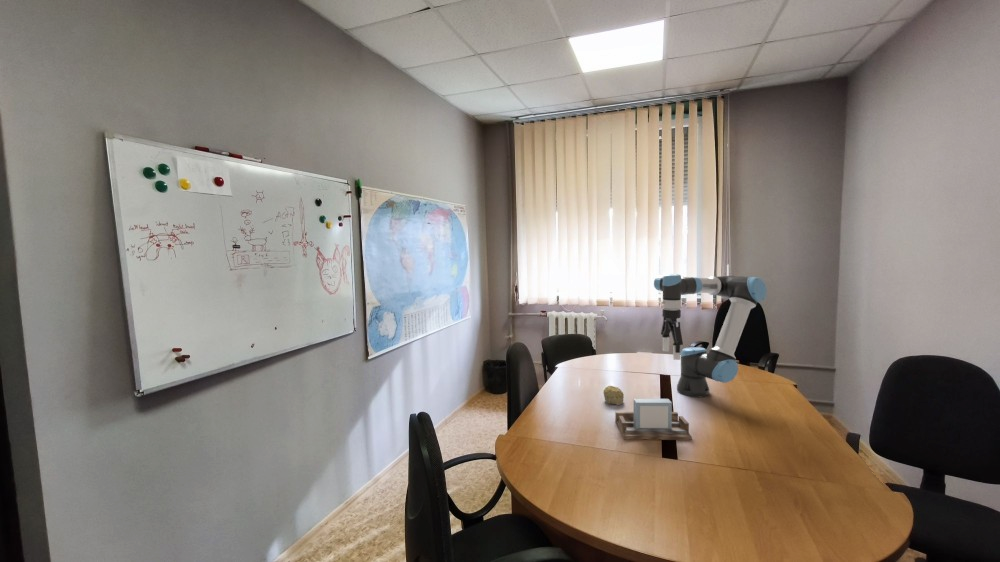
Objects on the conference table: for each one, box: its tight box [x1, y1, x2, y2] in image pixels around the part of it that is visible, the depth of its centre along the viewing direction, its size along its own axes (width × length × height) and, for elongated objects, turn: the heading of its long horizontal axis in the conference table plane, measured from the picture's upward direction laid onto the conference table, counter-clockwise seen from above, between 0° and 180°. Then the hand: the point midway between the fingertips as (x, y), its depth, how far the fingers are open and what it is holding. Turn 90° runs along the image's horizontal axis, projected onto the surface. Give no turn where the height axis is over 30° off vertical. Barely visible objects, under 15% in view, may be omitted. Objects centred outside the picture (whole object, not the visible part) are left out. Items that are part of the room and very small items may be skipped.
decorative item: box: [603, 385, 625, 406], centre depth 191 cm, size 10×10×10 cm
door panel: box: [633, 398, 673, 429], centre depth 159 cm, size 14×4×12 cm, turn 86°
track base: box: [614, 411, 693, 441], centre depth 161 cm, size 26×16×6 cm, turn 86°
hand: (671, 355), depth 176 cm, fingers open, 13 cm apart
